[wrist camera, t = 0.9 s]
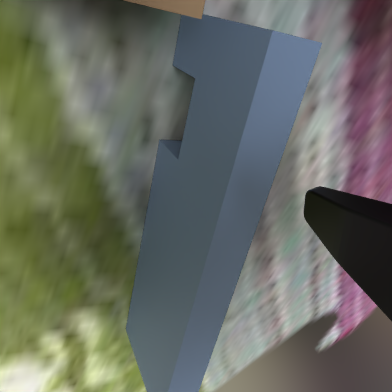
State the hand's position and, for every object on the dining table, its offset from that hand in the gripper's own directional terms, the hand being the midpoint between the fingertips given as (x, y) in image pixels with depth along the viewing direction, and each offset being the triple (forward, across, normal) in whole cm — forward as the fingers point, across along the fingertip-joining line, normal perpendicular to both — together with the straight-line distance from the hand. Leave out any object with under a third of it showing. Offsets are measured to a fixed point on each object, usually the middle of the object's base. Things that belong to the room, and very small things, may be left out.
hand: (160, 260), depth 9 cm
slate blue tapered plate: (+13, -3, +8) cm, 15 cm away
